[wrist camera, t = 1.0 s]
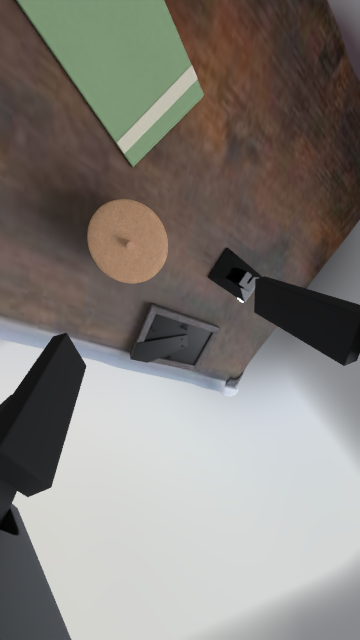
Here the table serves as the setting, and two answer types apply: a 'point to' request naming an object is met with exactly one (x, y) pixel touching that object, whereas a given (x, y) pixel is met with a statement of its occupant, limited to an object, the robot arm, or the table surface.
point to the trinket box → (127, 241)
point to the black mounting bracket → (234, 275)
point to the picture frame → (173, 339)
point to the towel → (121, 64)
